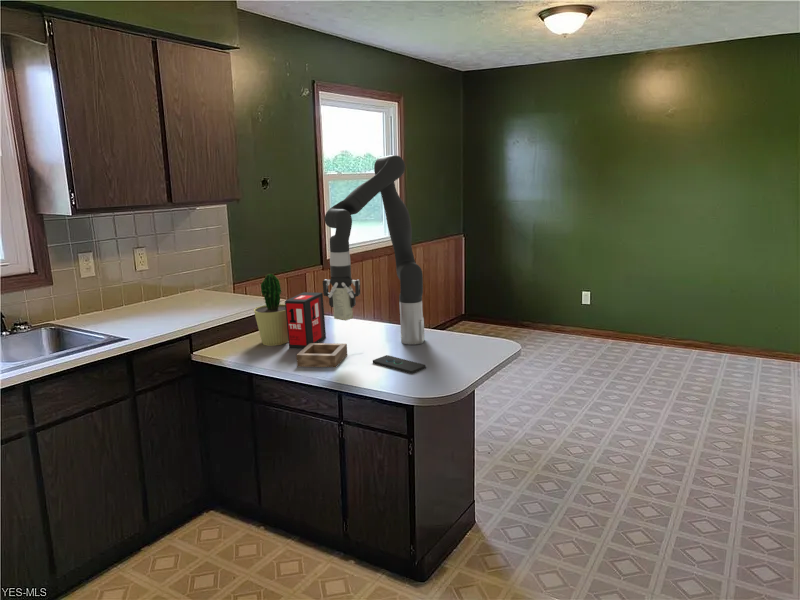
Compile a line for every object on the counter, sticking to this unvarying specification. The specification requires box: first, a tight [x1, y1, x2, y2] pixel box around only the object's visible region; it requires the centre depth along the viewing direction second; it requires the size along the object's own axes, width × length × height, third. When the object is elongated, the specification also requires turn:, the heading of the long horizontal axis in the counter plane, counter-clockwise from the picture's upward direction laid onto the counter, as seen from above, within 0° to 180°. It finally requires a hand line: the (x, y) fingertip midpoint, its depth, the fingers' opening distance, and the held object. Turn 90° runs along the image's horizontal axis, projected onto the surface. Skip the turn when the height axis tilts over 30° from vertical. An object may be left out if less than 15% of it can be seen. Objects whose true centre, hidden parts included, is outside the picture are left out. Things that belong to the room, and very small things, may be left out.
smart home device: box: [372, 355, 427, 375], centre depth 221 cm, size 8×2×20 cm
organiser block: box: [295, 342, 348, 368], centre depth 230 cm, size 15×15×4 cm
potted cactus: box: [253, 272, 289, 347], centre depth 255 cm, size 15×15×30 cm
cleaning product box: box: [284, 291, 327, 350], centre depth 252 cm, size 16×9×20 cm, turn 162°
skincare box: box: [331, 286, 354, 321], centre depth 226 cm, size 6×4×12 cm
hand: (342, 307), depth 226 cm, fingers closed on skincare box, 7 cm apart
